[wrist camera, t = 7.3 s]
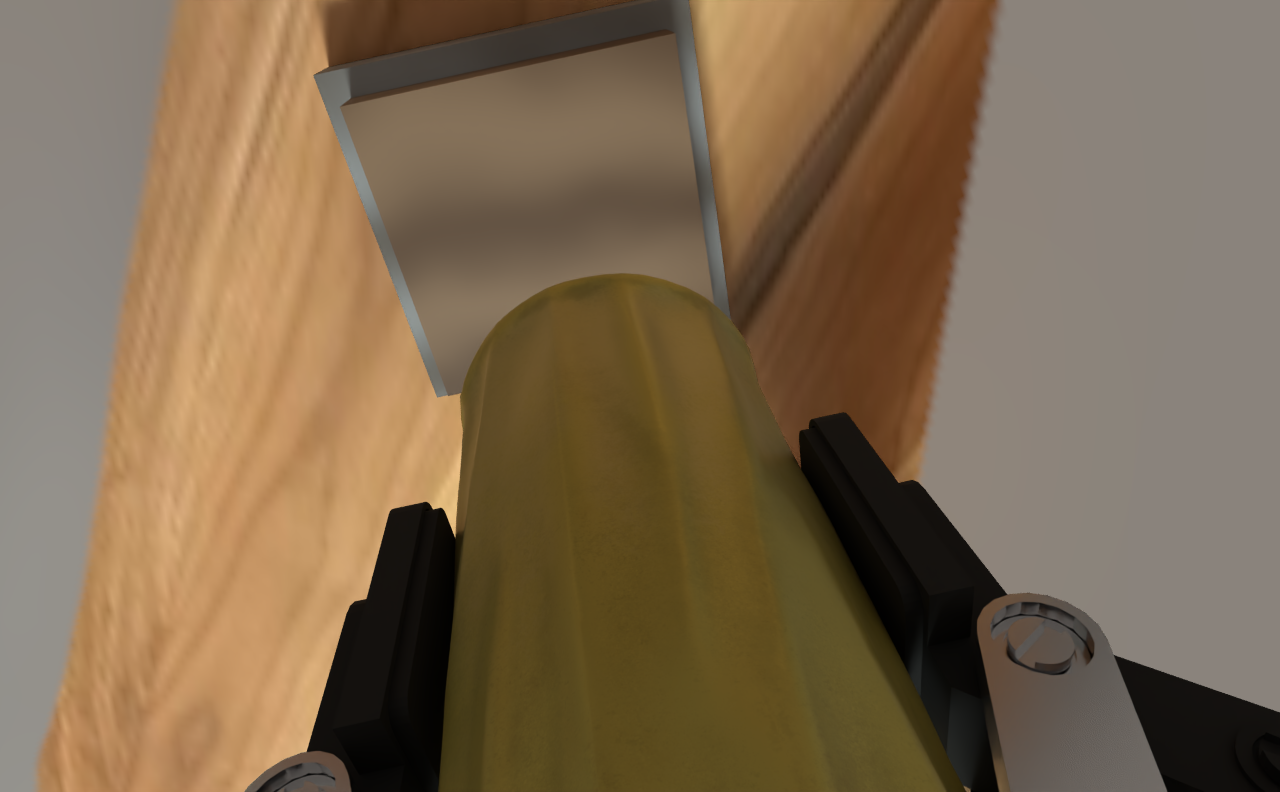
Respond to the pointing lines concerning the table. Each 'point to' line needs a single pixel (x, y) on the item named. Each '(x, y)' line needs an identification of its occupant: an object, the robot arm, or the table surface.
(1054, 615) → the robot arm
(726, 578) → the vase
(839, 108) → the table surface
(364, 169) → the stand
